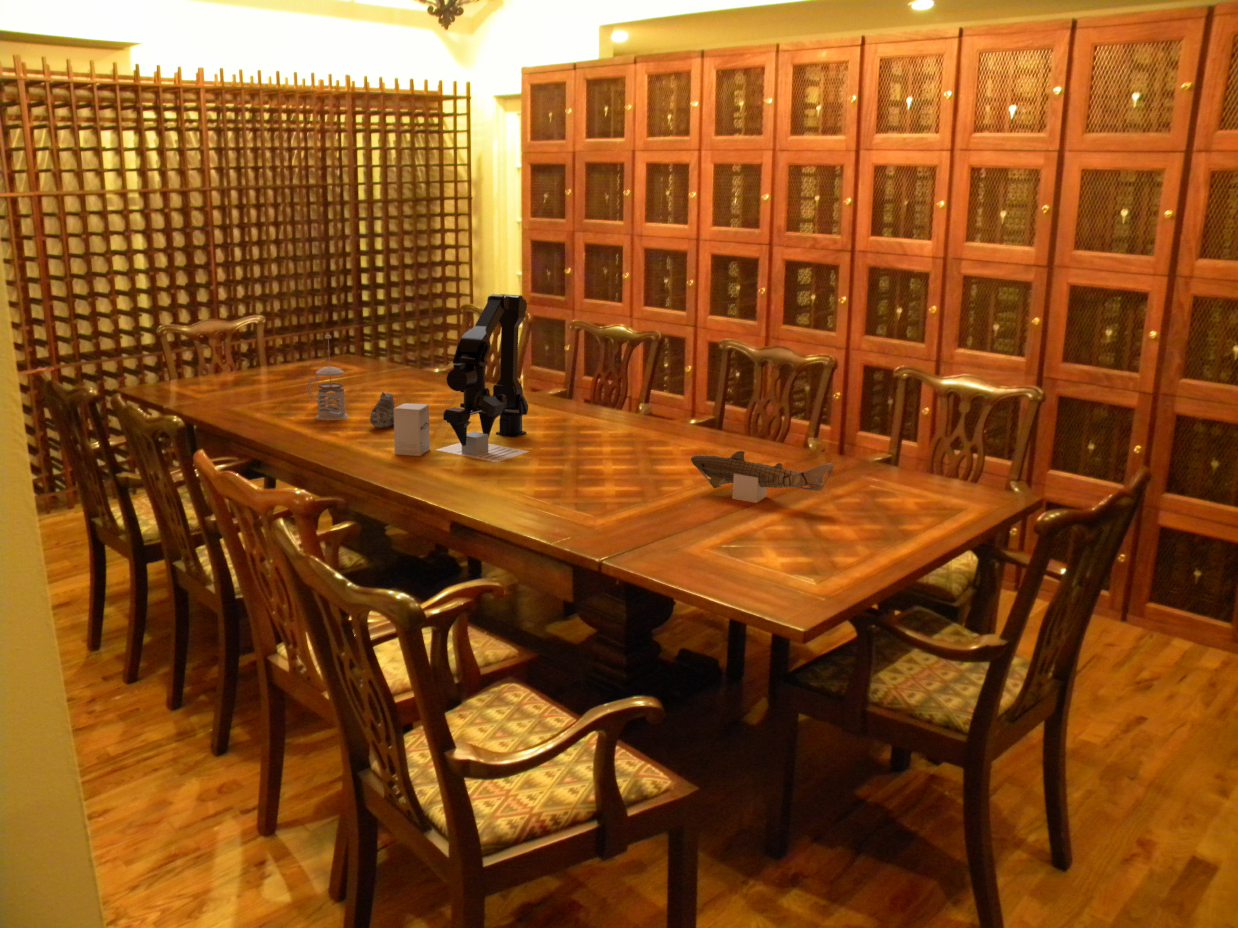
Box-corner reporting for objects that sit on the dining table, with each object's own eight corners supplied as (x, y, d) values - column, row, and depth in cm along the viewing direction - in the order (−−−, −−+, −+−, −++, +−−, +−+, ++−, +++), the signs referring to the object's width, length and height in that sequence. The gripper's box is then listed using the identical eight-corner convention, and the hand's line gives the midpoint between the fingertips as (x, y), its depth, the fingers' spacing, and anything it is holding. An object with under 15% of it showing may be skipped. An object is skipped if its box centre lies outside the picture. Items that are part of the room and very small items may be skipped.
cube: (474, 449, 287) (473, 431, 286) (488, 452, 284) (488, 434, 283) (461, 453, 283) (461, 435, 281) (476, 456, 280) (476, 437, 279)
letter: (469, 440, 297) (469, 439, 297) (529, 452, 286) (529, 451, 286) (435, 450, 286) (435, 449, 286) (496, 463, 275) (496, 462, 275)
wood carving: (823, 516, 237) (827, 468, 234) (682, 491, 254) (684, 446, 251) (836, 506, 245) (840, 459, 242) (698, 482, 261) (700, 438, 258)
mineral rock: (377, 433, 304) (375, 398, 301) (352, 427, 310) (350, 393, 307) (410, 425, 314) (409, 391, 311) (385, 419, 320) (384, 387, 317)
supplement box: (420, 456, 279) (419, 409, 276) (393, 454, 281) (392, 408, 277) (430, 450, 286) (429, 404, 283) (404, 448, 288) (403, 402, 284)
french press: (343, 420, 317) (339, 337, 310) (305, 419, 317) (300, 336, 311) (352, 413, 326) (348, 332, 320) (314, 412, 327) (310, 331, 320)
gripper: (474, 393, 267) (475, 454, 271) (520, 382, 282) (520, 440, 286) (441, 388, 273) (442, 447, 277) (488, 377, 288) (488, 433, 292)
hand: (475, 442), depth 283 cm, fingers open, 9 cm apart
